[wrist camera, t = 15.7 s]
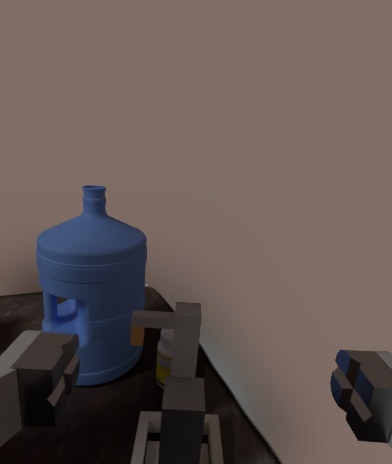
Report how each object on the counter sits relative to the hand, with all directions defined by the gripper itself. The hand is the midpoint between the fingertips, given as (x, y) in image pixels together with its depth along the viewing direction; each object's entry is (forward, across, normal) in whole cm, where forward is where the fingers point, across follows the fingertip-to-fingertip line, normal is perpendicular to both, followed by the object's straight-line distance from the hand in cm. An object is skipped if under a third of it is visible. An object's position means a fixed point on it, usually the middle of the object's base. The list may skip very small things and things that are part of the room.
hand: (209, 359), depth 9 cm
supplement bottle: (+29, +1, +28) cm, 41 cm away
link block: (+15, 0, +28) cm, 32 cm away
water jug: (+34, +14, +28) cm, 47 cm away
